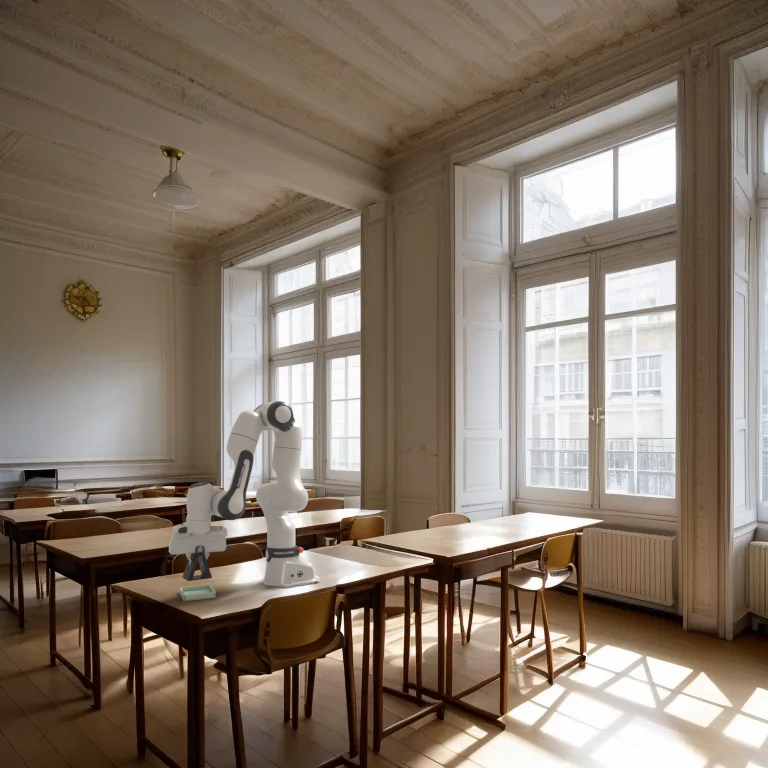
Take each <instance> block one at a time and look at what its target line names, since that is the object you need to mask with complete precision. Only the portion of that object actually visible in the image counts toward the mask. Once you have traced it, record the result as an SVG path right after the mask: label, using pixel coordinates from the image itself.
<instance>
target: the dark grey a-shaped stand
mask: <svg viewBox="0 0 768 768" xmlns="http://www.w3.org/2000/svg"><path fill="white" fill-rule="evenodd" d="M199 547H200V546H197V547H196V549H195V553H191V556H189V557H190V559H191V561H192V562H191V564H190V565H189V560H188V559H187V563H186V566H185V568H184V571H183V574H182V579H184V580H186V581H187V582H192V581H199V580H206V579H207V580H208V579H212V578H213V575H212V573H211V569H210V567H209V564H208V562H207V561H208V560H206V558H205V556H206V555H205V552H204V551H205V548H204V547H203V546H201V547H202V548H203V551H202V552H201V553H198V551H197V550H198V548H199ZM201 564H203V565H201ZM197 565H199V570H200V574H197V575H195V573H196V568H197Z"/></svg>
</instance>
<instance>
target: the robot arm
mask: <svg viewBox="0 0 768 768" xmlns="http://www.w3.org/2000/svg"><path fill="white" fill-rule="evenodd" d="M266 430H267V431H268V430H269V431H273V433H274V445H273V452H272V458H271V468H272V470H273V471H274V473H275V474H276V479H277V482H275V481H274V482H267V483H263V484H261V485H259V487H258V489H257V490H256V494H255V500H256V502H257V504H258V505H259V506H260V508H261V510H262V513H263V515H264V519H265V523H266V531H267V534H266V535H267V536H266V537H267V538H266V539H267V540H266V543H267V545H266V547H265V562H266V565H265V571H264V572H265V573H264V577H263V581H262V584H263V585H266V586H269V587H280V588H292V587H298V586H304V585H311V584H310V583H312V584H316V583H315V582H318V583H320V582H321V577H320V576H319V575H317V574H315V569H314V566H313V564H312V563H311V562H310V561H308V560H307V558H305V557H304V556H302V555H301V554H302V553H303V552H304V548H303V547H301V546H297V545H296V525H295V523H294V522H293V521H292V519H291V518H290V514H289V513H295V512H301V511H303V510H304V509H305V508H306V507H307V505H308V503H309V493H308V491H307V489H306V488H305V486H304V485H303V482H302V478H301V471H300V470H301V469H300V467H301V465H300V464H301V456H302V446H303V444H302V442H303V440H302V439H303V433H302V432H303V431H302V428H301V426H300V424H298V423H296V420H295V417H294V411H293V408H292V407H291V405H289V403H287V402H285V401H281V400H279V401H278V400H277V401H269V402H267V403H263V404H260V405H258V406H257V407H256V408H255V409H253V410H244V411H242V412H241V413H240V414H239V415H238V417H237V418H236V420H235V423H234V424H233V426H232V428H231V431H230V434H229V435H228V439H227V443H226V452H227V454H228V456H229V457H230V459H231V460H232V461H233V464H234V465H233V467H234V470H233V473H232V478H231V481H230V485H229V488H228V489H227V490H223V489H221V488H218V487H216V486H215V485H212V484H211V483H210V482H208V481H203V482H202V481H201V482H197V483H192V484H191V485H190V486H189V488H188V491H187V496H186V512H187V515H186V517H185V522H183V523H180V524H177V525H174V526H173V528H172V531H173V533H172V534H171V535H170V539H169V544H168V545H169V546H168V552H169V553H170V555H175V556H176V555H184V554H185V556H186V558H187V561H188V560H189V565H190V564H191V562H192V561H191V559H190V556H191V553H195V549H196V547H197V546H200V547H199V548H198V550H197V551H198V553H201V552H202V551H203V548H202V547H201V546H203V547H204V548H205V551H204V554H205V558H206V561H208V558H209V557H210V553H215V552H224V551H225V550H226V549H227V540H226V539H227V538H226V537H227V535H228V530H227V527H225V526H223V525H212V516H217V517H220V518H223V519H225V520H228V521H236V520H238V519H239V518H241V517H242V516H243V514H244V513H245V511H246V508H247V490H248V486H249V482H250V478H251V475H252V470H253V466H254V458H255V453H256V449H257V445H258V443H259V439H260V436H261V435H262V433H263V431H266ZM201 565H203V564H201ZM319 581H320V582H319Z"/></svg>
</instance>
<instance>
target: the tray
mask: <svg viewBox="0 0 768 768" xmlns="http://www.w3.org/2000/svg"><path fill="white" fill-rule="evenodd" d="M179 595H180V597H181V599H182V600H183V601H182V602H184V603H185V602H191V601H192V602H193V601H200V600H201V601H203V600H211V599H216V598H217V592H216V590H215V589H214V588H213V586H212V585H211V584H210V583H209V584H200V585H190V586H181V587H179Z"/></svg>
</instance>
